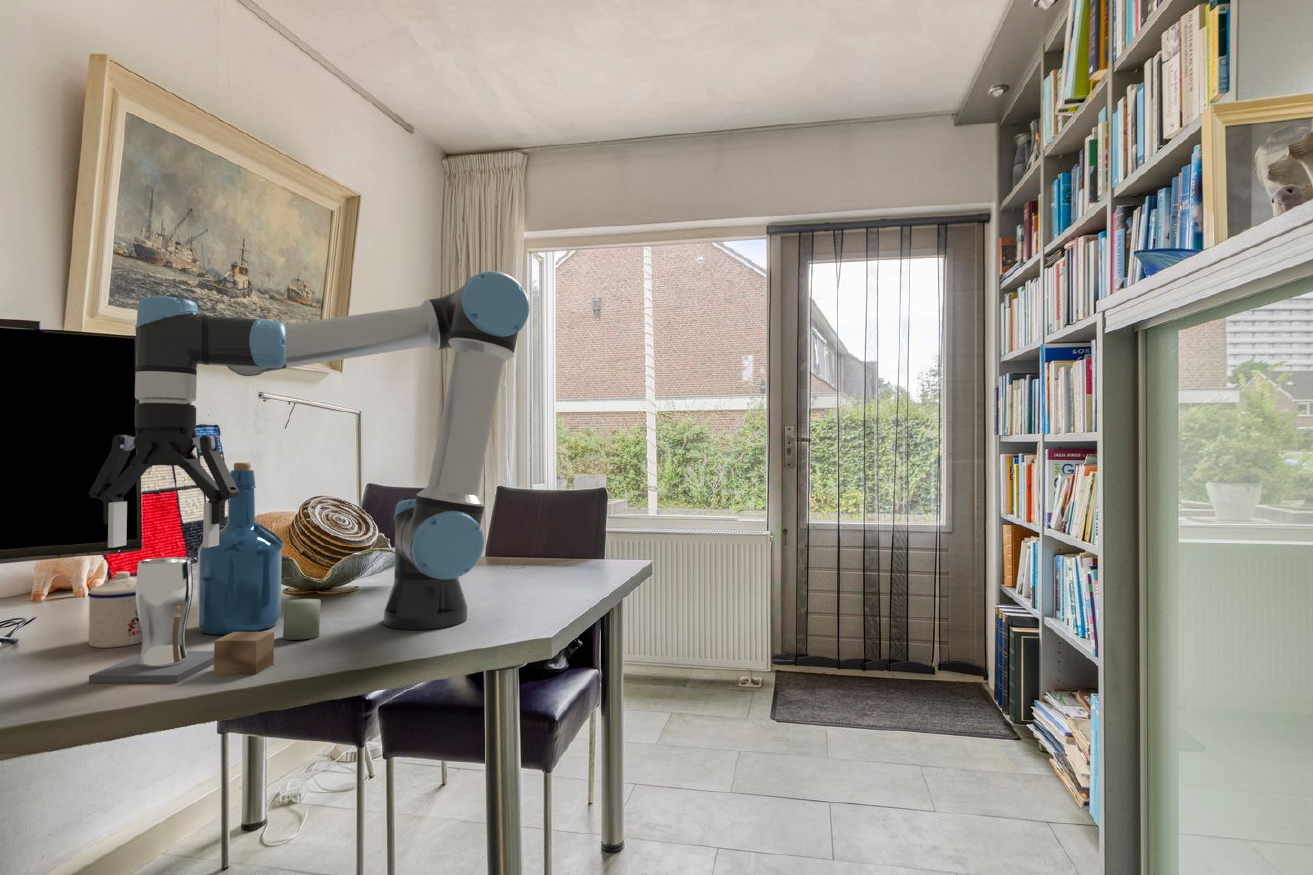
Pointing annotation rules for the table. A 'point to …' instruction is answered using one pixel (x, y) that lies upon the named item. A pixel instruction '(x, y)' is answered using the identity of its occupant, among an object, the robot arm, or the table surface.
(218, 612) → the wine bottle
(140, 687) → the table surface
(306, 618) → the pale green rounded cube
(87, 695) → the table surface
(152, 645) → the beer glass
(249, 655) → the walnut block
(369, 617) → the table surface
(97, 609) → the teacup with lid
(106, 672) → the charcoal mat
